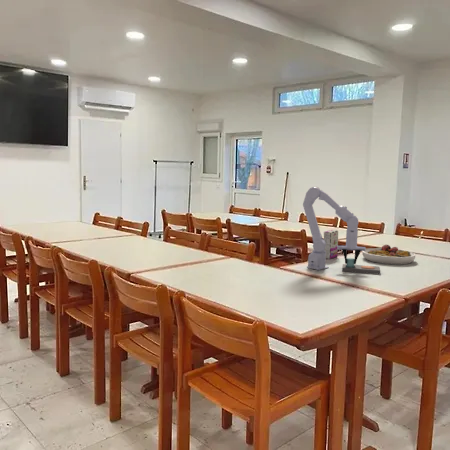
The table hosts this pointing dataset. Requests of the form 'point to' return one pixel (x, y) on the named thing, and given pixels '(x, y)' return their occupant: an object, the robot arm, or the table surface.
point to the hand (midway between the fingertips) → (350, 263)
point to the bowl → (388, 255)
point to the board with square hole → (360, 269)
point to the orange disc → (367, 267)
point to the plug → (350, 262)
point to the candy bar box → (331, 243)
